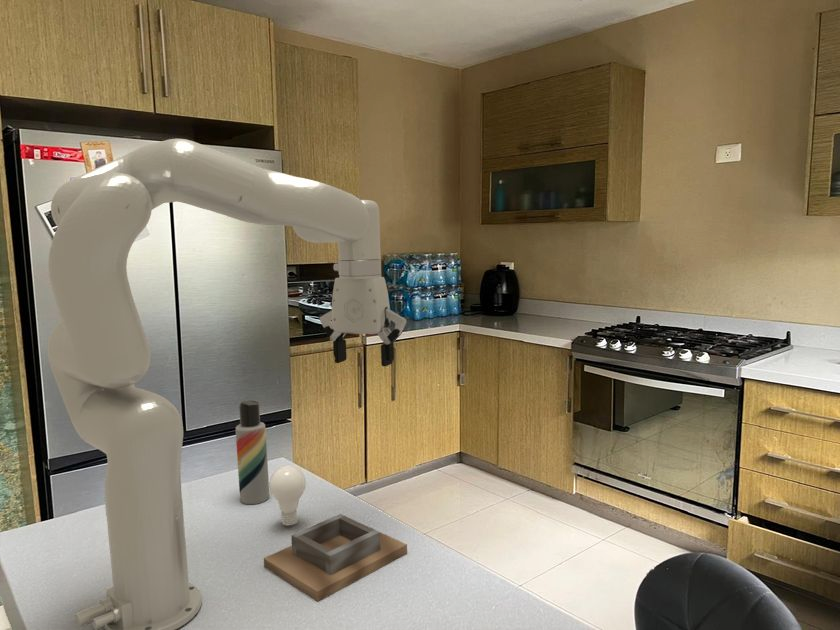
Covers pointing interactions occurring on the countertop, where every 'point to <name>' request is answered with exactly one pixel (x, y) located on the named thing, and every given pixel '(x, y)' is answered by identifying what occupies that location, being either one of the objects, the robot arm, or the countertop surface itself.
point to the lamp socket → (333, 556)
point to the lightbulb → (287, 491)
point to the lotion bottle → (252, 455)
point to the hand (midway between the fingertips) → (363, 363)
